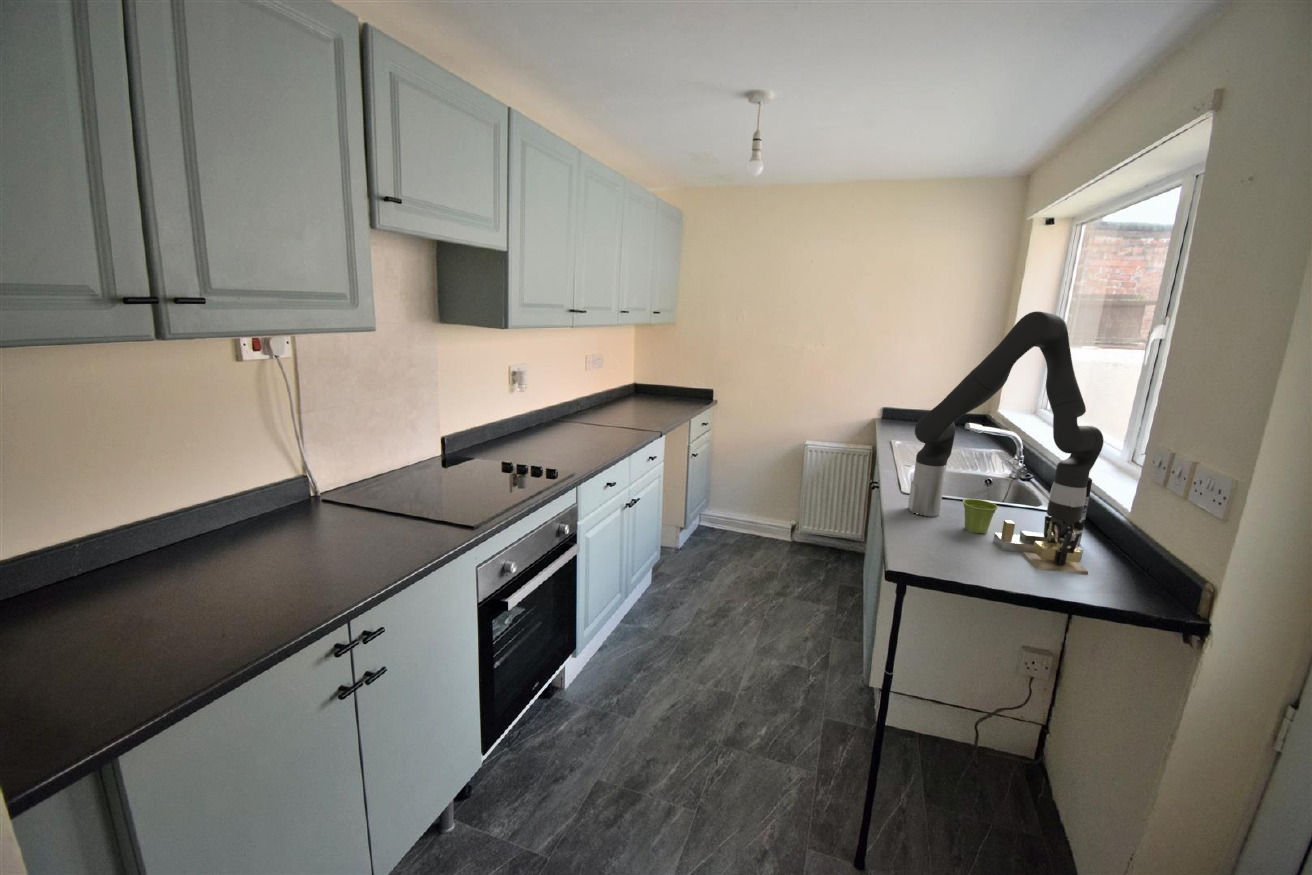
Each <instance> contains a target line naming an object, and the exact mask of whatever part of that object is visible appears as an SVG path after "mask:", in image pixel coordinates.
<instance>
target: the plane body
mask: <svg viewBox="0 0 1312 875" xmlns="http://www.w3.org/2000/svg"><path fill="white" fill-rule="evenodd" d="M1015 526H1016V523H1015V522H1014V521H1013V520H1012V519H1011V520H1010V519H1009V520H1008V519H1004V520H1003V526H1002V530H1001V532H994V535H993V540H992V541H993V542H994V543H995V544H996V545H997V546H998V547H999V549H1001V551H1005V552H1006V551H1008V552H1017V553H1019V552H1020V553H1023V552H1026V553H1034V552H1033V549H1034V543H1035V541H1040V542H1047V541H1046V537H1044V532H1039V531H1029V530H1028V531H1027V530H1020V533H1019V534H1014V530H1015ZM1073 532H1074V533H1076V532H1075V530H1073ZM1060 540H1064V539H1060ZM1062 544H1063V543H1062ZM1076 548H1077V549H1078V550H1079V551H1080V552H1081V557H1080V559H1083V553H1084V549H1083V548H1082V547H1080V546H1079V545H1076Z"/></svg>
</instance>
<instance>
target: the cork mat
mask: <svg viewBox="0 0 1312 875" xmlns="http://www.w3.org/2000/svg"><path fill="white" fill-rule="evenodd" d="M1022 556H1023V557H1024V558H1025V559H1026V560H1027V561H1028V562H1029V563H1030V564H1031V565H1032V566H1033V567H1034V568H1035V570H1044V571H1053V572H1060V573H1061V572H1062V573H1070V574H1079V573H1084V574H1083V575H1089V570H1087V569H1086V568H1085V567H1084V566H1083V565H1081V564H1080V562H1079V563H1076V562H1067V561H1066V562H1065V565H1063V566H1062V565H1056V564H1055V560H1047V559H1041V558H1040V557H1039V556H1038V555H1037V554H1035V553H1026V552H1022Z"/></svg>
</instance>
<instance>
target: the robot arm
mask: <svg viewBox="0 0 1312 875" xmlns="http://www.w3.org/2000/svg"><path fill="white" fill-rule="evenodd" d="M1068 330H1069V329H1068V326H1067V323H1066V321H1065V319H1064V318H1063V317H1061V316H1060V315H1057V314H1054V313H1050V312H1046V311H1045V312H1044V311H1040V310H1039V311H1037V310H1036V311H1032V312H1029V313H1027V314H1025V315H1023V316H1022V317H1021V318H1020V319H1019V320H1018V321H1017V322H1016V323H1015V325H1013V327H1012V328H1011V330H1009V332H1008V333H1007V334H1006V335H1005V337H1004V338H1003V339H1002V340H1001V341H1000V342H999V344H998V345H997V346H996V347H995V348H994V349H993V350H992V351H991V352H990V353H989V354H988V355H987V356H986V357H985V358H984V359H983V360H982V361H981V362H980V363H979V364H977V366H976V367H974V368H973V369H972V370H971V371H970V372H969V373H968V374H967V375H965V377H964V378H963V379H962V380H961V381H960V382H959V384H957V385H956V386H955V387H954V388H953V390H951V391H950V393H948V395H946V397H945V398H944V399H943V400H942V401H941V402H939V403H938V404H937V405H936V406H934V407H933V408H932V409H931V410H929V412H927V413H926V414H924V415H923V416H922V417H921V418H920V419H919V420H918V421H917V422H916V425H915V427H914V435H915V438H916V440H918V441H919V442H921V443H923V444H924V446H923V447H922V448H921V449H920V450H919V451H918V452H917V454H916V457H915V465H914V473H913V478H912V479H913V480H912V481H911V482H910V488H909V495H908V496H909V497H908V503H907V504H908V505H907V509H908V510H909V509H910V510H909V512H910V511H911V512H910V513H911V514H913V513H918V514H920V516H922V515H924V516H923V517H938V516H939V515H940V512H941V506H942V505H941V504H942V500H943V492H944V486H945V478H946V472H947V465H948V460H949V459H950V456H951V455H952V451H953V446H954V440H955V435H956V425H955V422H956V421H957V420H959V419H960V418H961V417H962V416H964V415H966V414H968V413H970V412H973V410H975V409H977V408H978V407H981V406H982V405H984V404H985V403H986V402H988V400H990V399H991V398H993V396H994V395H995V394H997V393H998V392H999V391H1000V390H1001V389H1002V388H1003V387H1004V385H1006V382H1007V381H1008V378H1009V376H1010V374H1011V371H1012V369H1013V367H1014V365H1015V364H1016V363H1017V362H1018V360H1020V358H1022V357H1023V356H1024V355H1025V354H1026V353H1028V351H1030V350H1032V348H1034V347H1036V348H1039V350H1040V351H1041V353H1042V355H1043V357H1044V360H1045V363H1046V370H1047V371H1046V380H1045V390H1046V391H1045V392H1046V396H1047V400H1048V402H1049V406H1050V410H1051V411H1052V416H1053V418H1052V430H1053V431H1052V434H1053V441H1054V444H1055V446H1056V447H1057V449H1058V450H1060V451H1061V452H1062V453H1065V454H1070V455H1069V457H1068V458H1066V459H1064V460H1061V461H1059V462H1058V463H1057V465H1056V468H1055V469H1056V470H1055V473H1054V478H1053V482H1052V486H1051V489H1050V492H1049V493H1050V494H1049V497H1048V498H1049V499H1048V503H1047V509H1046V515H1045V516H1044V526H1043V527H1044V528H1043V533H1044V537H1046V541H1047V542H1051V543H1057V553H1056V558H1055V564H1056V565H1062V566H1063V565H1065V562H1066V557H1067V553H1074V550H1075V547H1076V545H1077V542H1078V539H1079V534H1076V533H1074V532H1073V530H1074V523H1075V522H1078V521H1080V520H1081V518H1082V513H1083V508H1084V503H1085V499H1086V488H1087V483H1088V478H1090V473H1091V471H1092V469H1093V467H1094V466H1095V463H1096V462H1097V459H1098V458H1099V456H1100V454H1101V452H1102V450H1103V447H1104V435H1103V433H1102V431H1101V430H1100V428H1098V427H1097V426H1093V425H1079V424H1078V418H1079V417H1082V416H1083V415H1085V413H1086V412H1087V410H1086V409H1087V408H1086V404H1085V402H1084V398H1083V395H1082V393H1081V390H1080V387H1079V384H1078V380H1077V377H1076V374H1075V370H1074V369H1075V368H1074V364H1073V360H1072V353H1071V352H1072V351H1071V347H1070V346H1071V345H1070V339H1069V332H1068ZM918 514H917V515H918ZM1060 538H1062V539H1064V540H1060ZM1062 543H1063V545H1062ZM1070 546H1071V547H1070Z"/></svg>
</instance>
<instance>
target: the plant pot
mask: <svg viewBox="0 0 1312 875" xmlns="http://www.w3.org/2000/svg"><path fill="white" fill-rule="evenodd" d="M962 503H963V508H964V529H965V530H967V531H968V532H970V533H973V534H982V535H983V534H987V533H988V530H989V527H990V525H991V522H992V519H993V517H994V514H995V512H996V511H997V509H998V508H999V507H998V505H997V504H995V503H993V502H990V501H986V500H982V499H977V498H970V499H969V498H967V499H966V498H965V499H963V500H962Z"/></svg>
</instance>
